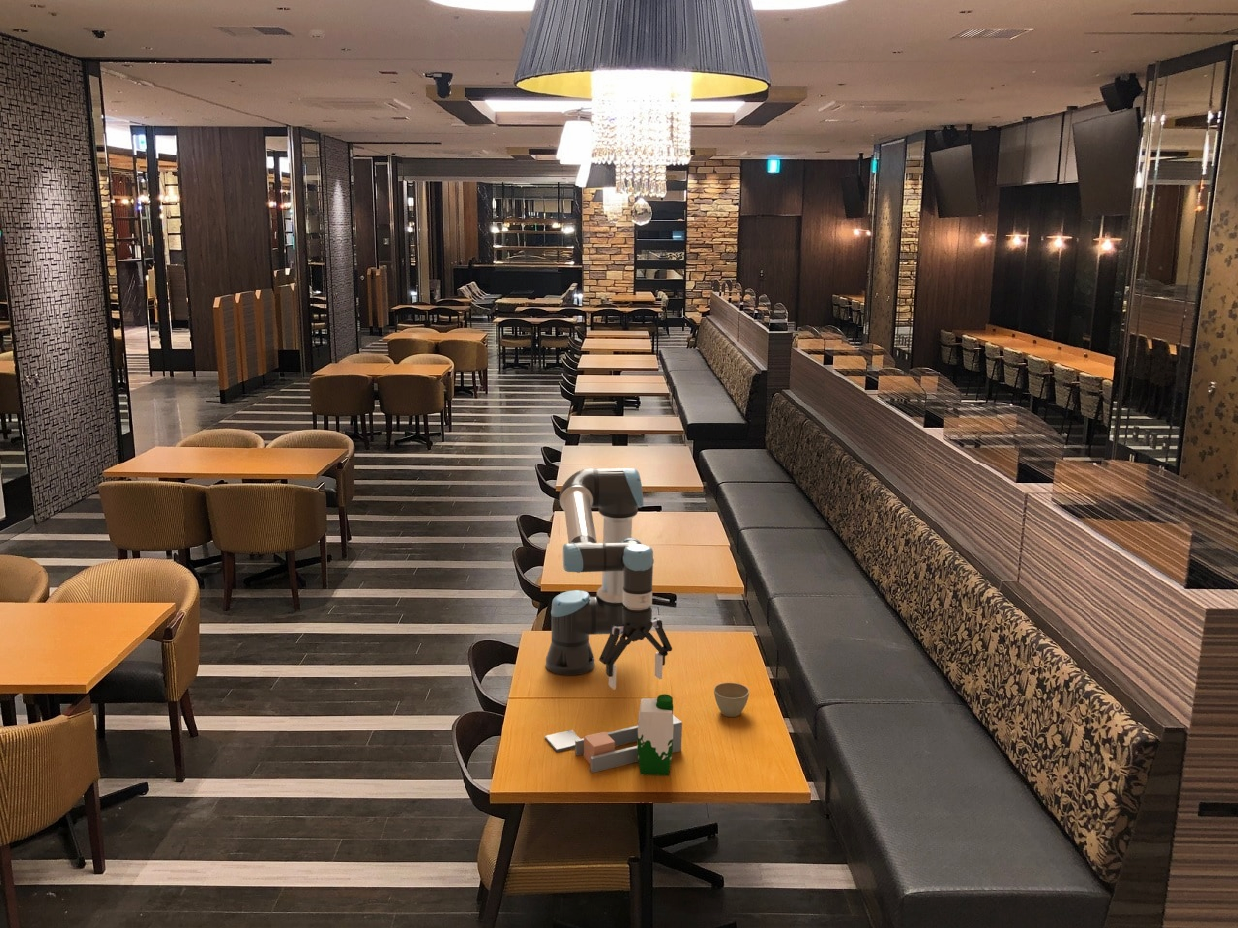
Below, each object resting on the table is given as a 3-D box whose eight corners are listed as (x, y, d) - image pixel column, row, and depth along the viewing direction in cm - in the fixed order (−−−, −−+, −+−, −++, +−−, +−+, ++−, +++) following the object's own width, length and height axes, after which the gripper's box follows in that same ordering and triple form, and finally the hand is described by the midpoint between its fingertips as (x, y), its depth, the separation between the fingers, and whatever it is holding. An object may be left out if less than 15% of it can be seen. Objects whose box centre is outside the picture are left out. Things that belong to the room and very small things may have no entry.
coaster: (544, 738, 281) (544, 735, 281) (572, 732, 285) (572, 729, 285) (556, 752, 274) (556, 749, 274) (584, 745, 278) (584, 742, 278)
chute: (575, 753, 274) (575, 724, 272) (661, 733, 285) (662, 705, 283) (592, 772, 265) (592, 743, 263) (681, 750, 276) (681, 722, 274)
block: (583, 756, 273) (584, 736, 271) (604, 751, 275) (604, 731, 274) (593, 767, 267) (593, 746, 266) (614, 762, 270) (615, 741, 269)
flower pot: (752, 709, 300) (753, 686, 298) (741, 724, 291) (742, 700, 289) (719, 702, 304) (720, 679, 302) (707, 716, 295) (708, 693, 293)
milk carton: (672, 778, 264) (674, 706, 259) (636, 777, 264) (638, 705, 259) (672, 760, 272) (674, 690, 267) (637, 759, 272) (638, 689, 268)
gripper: (600, 618, 257) (599, 697, 262) (686, 602, 269) (684, 678, 274) (586, 608, 264) (586, 685, 269) (671, 593, 275) (669, 667, 280)
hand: (635, 682), depth 271 cm, fingers open, 13 cm apart
